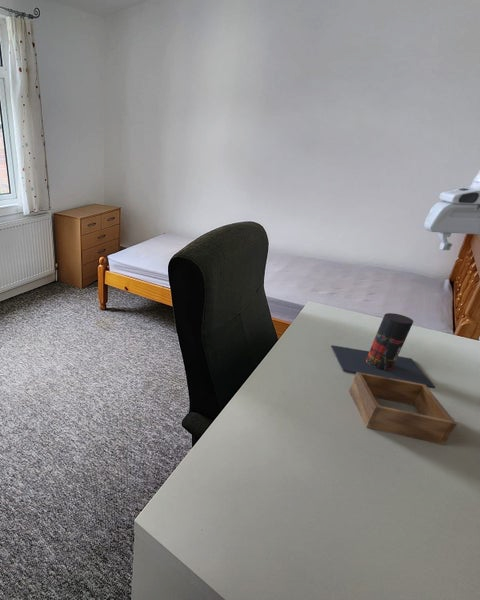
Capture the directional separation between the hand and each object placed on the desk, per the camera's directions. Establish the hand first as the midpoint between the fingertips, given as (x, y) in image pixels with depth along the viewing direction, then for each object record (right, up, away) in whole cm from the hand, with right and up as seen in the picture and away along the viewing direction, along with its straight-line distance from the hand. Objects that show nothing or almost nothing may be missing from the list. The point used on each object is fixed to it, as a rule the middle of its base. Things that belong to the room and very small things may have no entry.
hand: (468, 251), depth 86 cm
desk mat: (-13, -31, +12) cm, 36 cm away
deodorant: (-13, -31, +11) cm, 36 cm away
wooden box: (-25, -40, -6) cm, 48 cm away
